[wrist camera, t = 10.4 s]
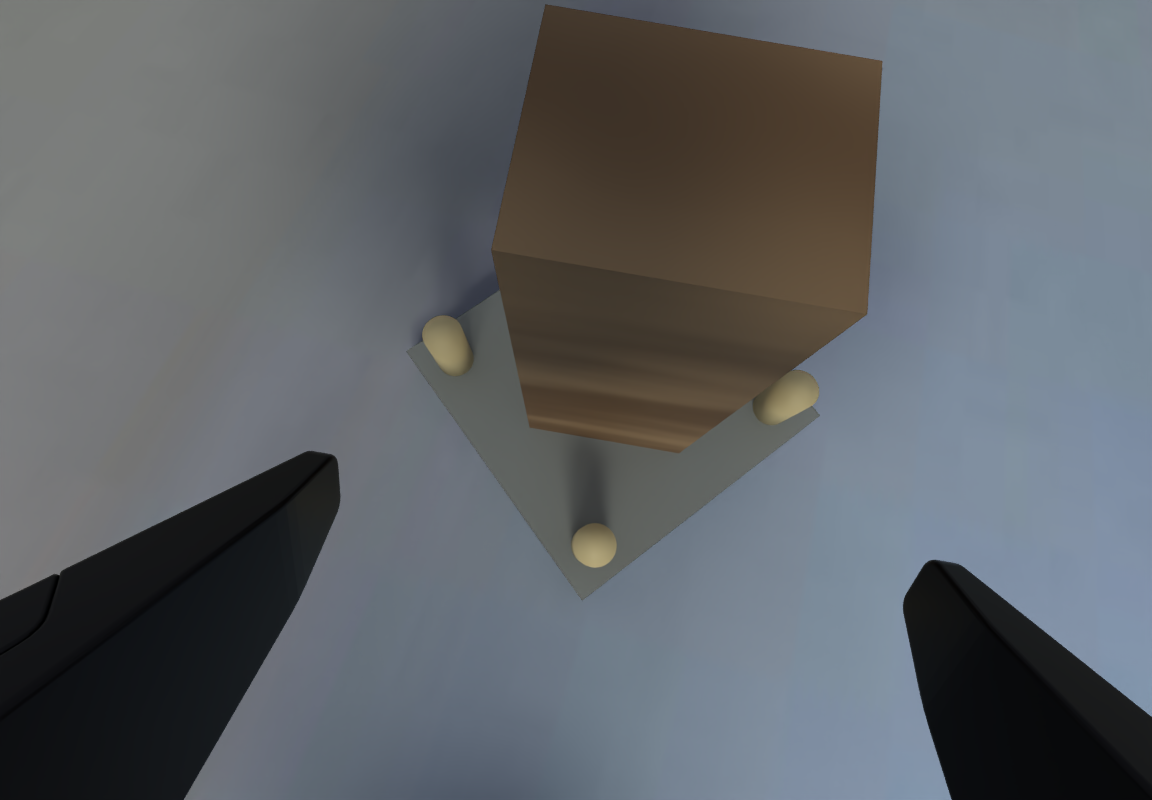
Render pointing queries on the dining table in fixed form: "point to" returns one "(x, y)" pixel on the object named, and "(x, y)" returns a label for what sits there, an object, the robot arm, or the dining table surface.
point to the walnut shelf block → (680, 222)
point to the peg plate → (592, 451)
